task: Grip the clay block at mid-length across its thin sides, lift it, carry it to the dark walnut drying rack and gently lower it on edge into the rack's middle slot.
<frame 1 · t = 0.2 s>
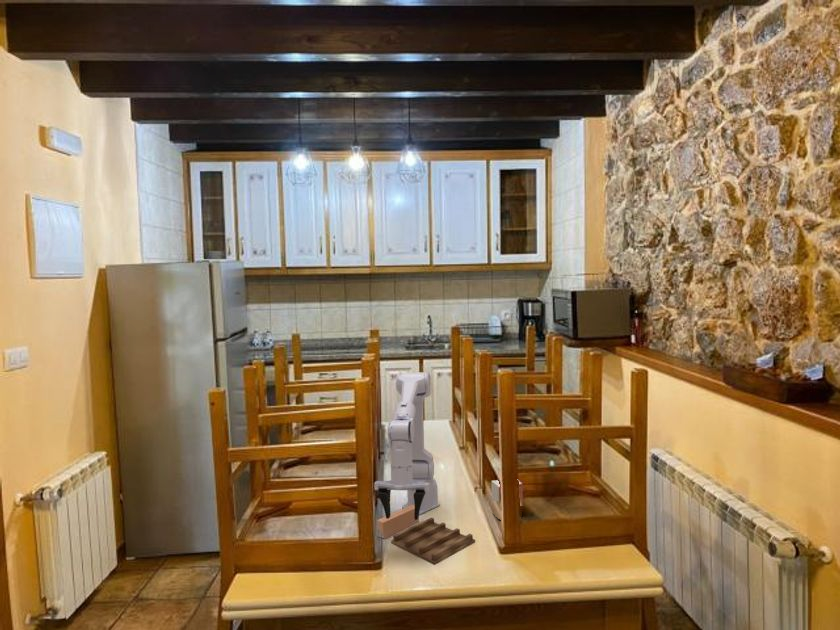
hand: (402, 518, 149), 10 cm above the table, tool pointing down, fingers open, 7 cm apart
rack: (433, 542, 157), on the table
clay block: (399, 529, 165), on the table
small box: (507, 516, 172), on the table
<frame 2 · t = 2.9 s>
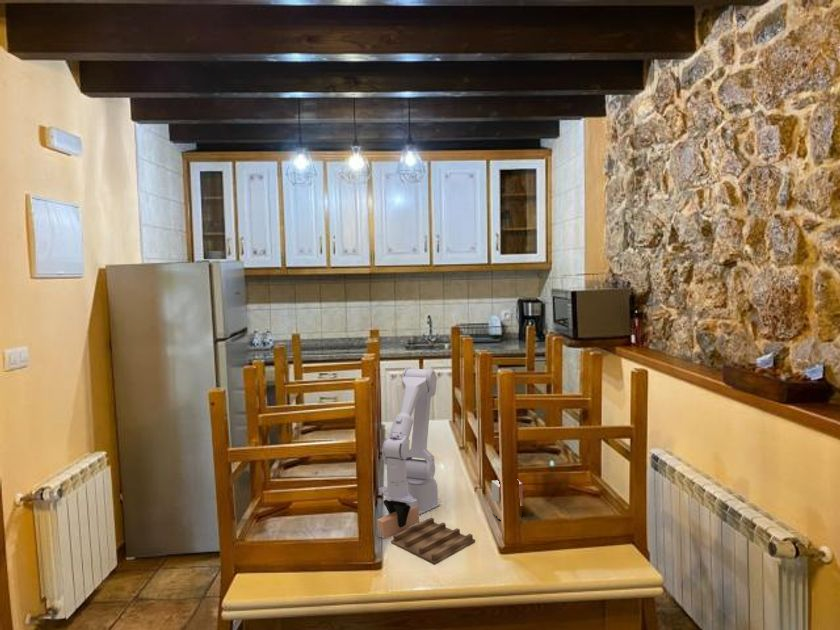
hand: (398, 524, 165), 1 cm above the table, tool pointing down, fingers closed on clay block, 2 cm apart
clay block: (399, 529, 165), on the table, touching gripper
everything else where it was.
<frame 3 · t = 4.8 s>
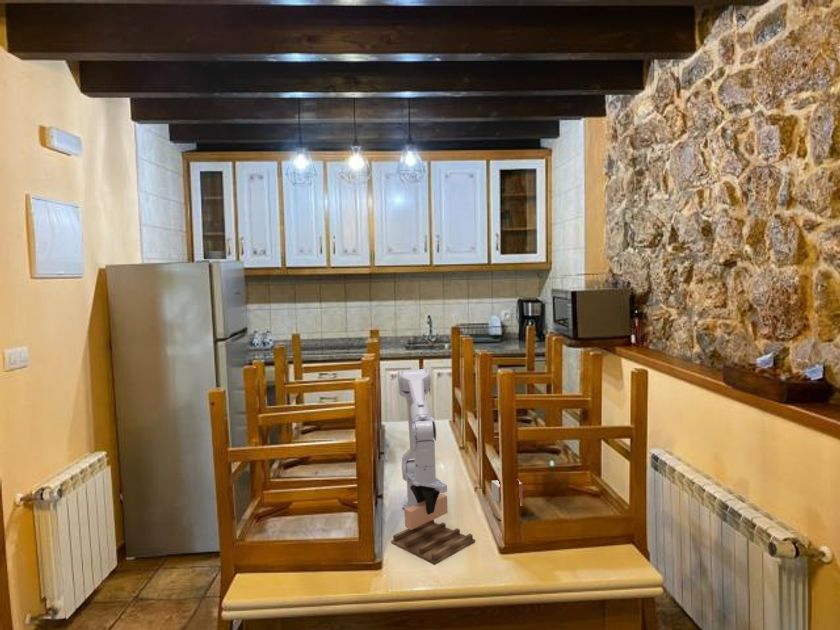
hand: (426, 511, 157), 8 cm above the table, tool pointing down, fingers closed on clay block, 2 cm apart
clay block: (426, 519, 157), point 6 cm above the table, touching gripper
everything else where it was.
when the fingers open (3 cm above the table, at t = 6.7 s): clay block stays where it is, resting on rack.
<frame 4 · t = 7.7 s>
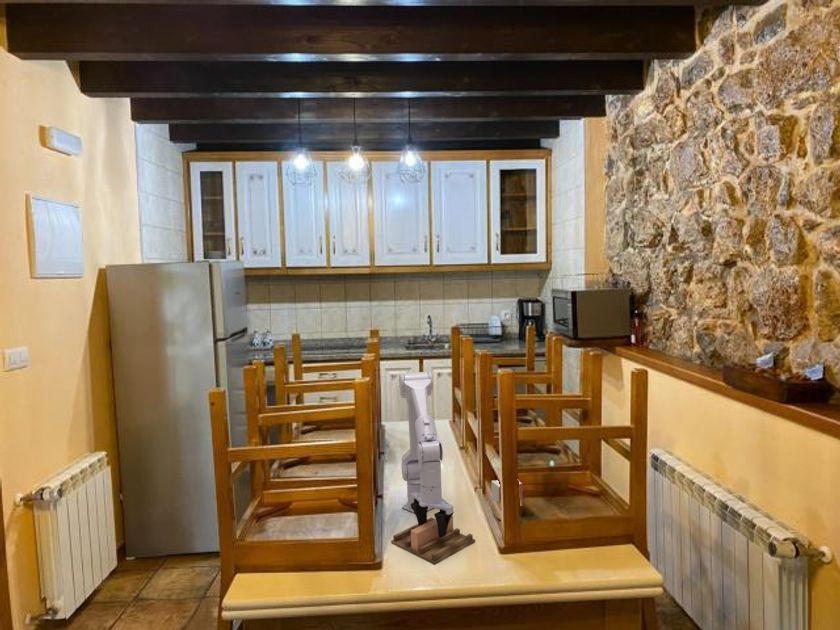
hand: (432, 531, 156), 3 cm above the table, tool pointing down, fingers open, 7 cm apart
clay block: (432, 540, 157), point 1 cm above the table, touching rack
everything else where it was.
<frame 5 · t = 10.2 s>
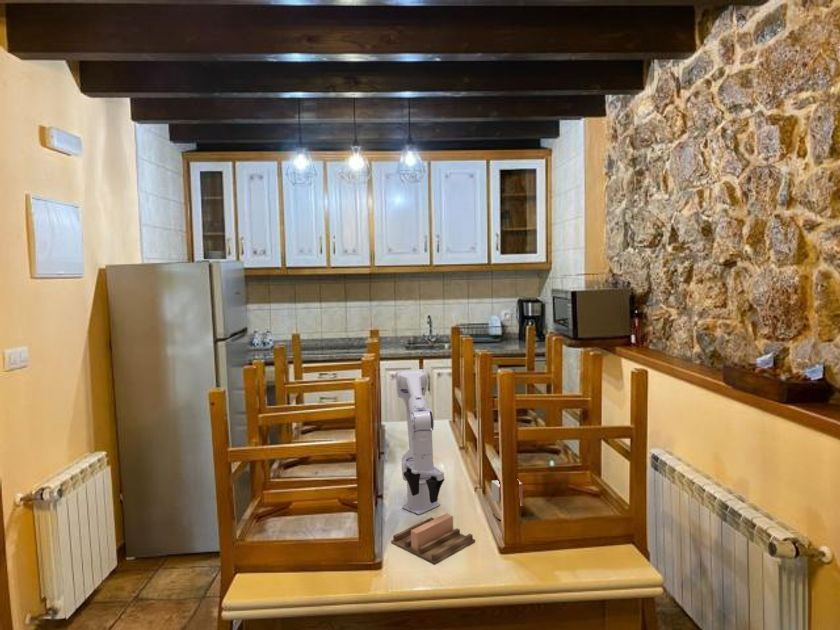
hand: (424, 498, 164), 9 cm above the table, tool pointing down, fingers open, 7 cm apart
nothing on the table moved.
at the end: clay block 0.0 cm off-centre on the rack, point 0.6 cm above the rack's base; clay block tilted 0°; the gripper is holding nothing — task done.
